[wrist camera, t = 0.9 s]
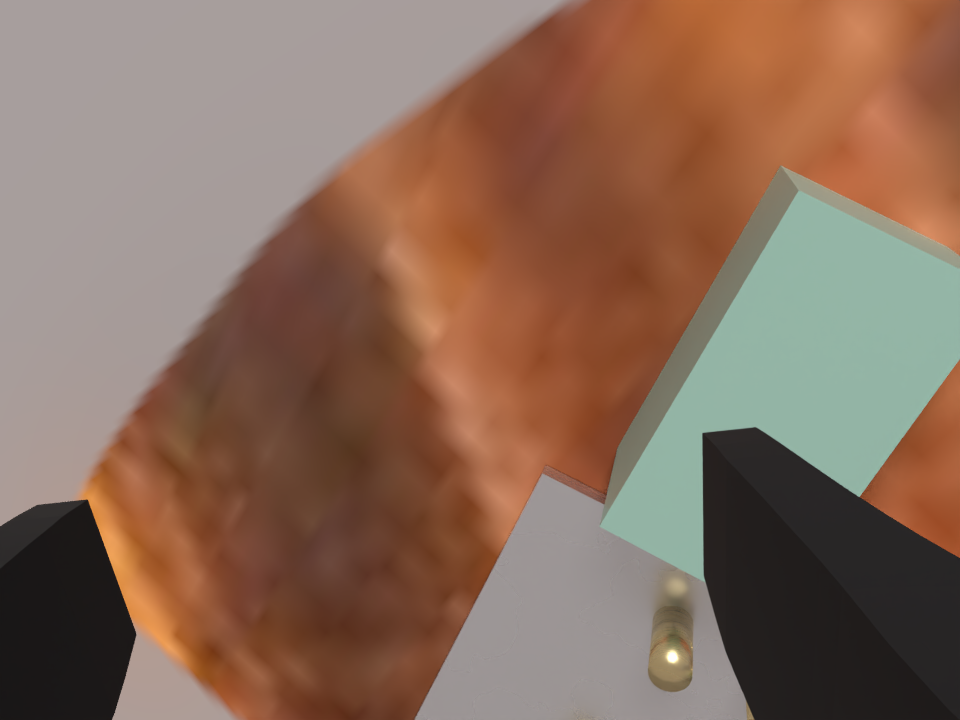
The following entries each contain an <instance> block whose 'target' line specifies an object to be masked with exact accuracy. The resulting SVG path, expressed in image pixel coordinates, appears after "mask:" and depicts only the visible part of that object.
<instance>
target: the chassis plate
mask: <svg viewBox="0 0 960 720" xmlns="http://www.w3.org/2000/svg"><path fill="white" fill-rule="evenodd" d="M605 500H606V495H604V494H602V493H600V492H598V491H596V490H594V489H592V488H590V487H589V486H587V485H585V484H583V483H581V482H579V481H577V480H575V479H573V478H571V477H569V476H567V475H565V474H563V473H561V472H559V471H557V470H555V469H553V468H551V467H549V466H547V465H546V466H545V468H544V470H543V472H542V474H541V476H540V477H539V479H538V481H537V483H536V485H535V487H534V489H533V491H532V493H531V495H530V497H529V499H528V501H527V502H526V504H525V506H524V508H523V510H522V512H521V514H520V516H519V518H518V520H517V522H516V524H515V526H514V528H513V529H512V531H511V533H510V535H509V537H508V539H507V541H506V543H505V545H504V547H503V549H502V551H501V553H500V555H499V556H498V558H497V560H496V562H495V564H494V566H493V568H492V570H491V572H490V574H489V576H488V578H487V580H486V582H485V583H484V585H483V587H482V589H481V591H480V593H479V595H478V597H477V599H476V601H475V603H474V605H473V607H472V608H471V610H470V612H469V614H468V616H467V618H466V620H465V622H464V624H463V626H462V628H461V630H460V632H459V634H458V635H457V637H456V639H455V641H454V643H453V645H452V647H451V649H450V651H449V653H448V655H447V657H446V659H445V661H444V662H443V664H442V666H441V668H440V670H439V672H438V674H437V676H436V678H435V680H434V682H433V684H432V686H431V687H430V689H429V691H428V693H427V695H426V697H425V699H424V701H423V703H422V705H421V707H420V709H419V711H418V713H417V714H416V716H415V718H414V720H747V711H746V699H745V697H744V694H743V692H742V690H741V687H740V685H739V683H738V680H737V678H736V676H735V673H734V671H733V668H732V666H731V664H730V661H729V659H728V656H727V654H726V651H725V648H724V645H723V641H722V638H721V635H720V631H719V628H718V625H717V621H716V618H715V614H714V611H713V607H712V604H711V600H710V597H709V593H708V589H707V586H706V583H705V582H703V581H701V580H700V579H698V578H696V577H694V576H692V575H690V574H688V573H686V572H684V571H683V570H681V569H679V568H677V567H675V566H673V565H671V564H669V563H667V562H665V561H664V560H662V559H660V558H658V557H656V556H654V555H652V554H650V553H648V552H647V551H645V550H643V549H641V548H639V547H637V546H635V545H633V544H631V543H630V542H628V541H626V540H624V539H622V538H620V537H618V536H616V535H614V534H613V533H611V532H609V531H607V530H605V529H603V528H601V527H599V526H600V521H601V517H602V513H603V509H604V504H605ZM665 606H677V607H680V608H683V609H684V610H686V611H687V612H688V613H689V614H690V615H691V617H692V619H693V623H694V628H693V674H692V681H691V683H690V685H689V686H688V687H687V688H685V689H684V690H682V691H678V692H667V691H663V690H661V689H659V688H657V687H656V686H655V685H654V684H653V683H652V682H651V680H650V678H649V676H648V664H649V654H650V643H651V633H652V622H653V617H654V614H655V613H656V612H657V611H658V610H659V609H660V608H662V607H665Z"/></svg>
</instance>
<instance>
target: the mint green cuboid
mask: <svg viewBox="0 0 960 720" xmlns="http://www.w3.org/2000/svg"><path fill="white" fill-rule="evenodd" d="M959 359H960V256H959V255H957V254H956V253H955V252H954V251H952V250H951V249H950V248H948V247H947V246H945V245H943V244H940V243H938V242H936V241H934V240H932V239H930V238H928V237H926V236H924V235H922V234H920V233H918V232H916V231H914V230H912V229H910V228H908V227H906V226H904V225H902V224H899V223H897V222H895V221H893V220H891V219H889V218H887V217H885V216H883V215H881V214H879V213H877V212H875V211H873V210H871V209H869V208H867V207H865V206H863V205H861V204H859V203H856V202H854V201H852V200H850V199H848V198H846V197H844V196H842V195H840V194H838V193H836V192H834V191H832V190H830V189H828V188H826V187H824V186H822V185H820V184H818V183H815V182H813V181H811V180H809V179H807V178H805V177H803V176H801V175H799V174H797V173H795V172H793V171H791V170H789V169H787V168H785V167H783V166H780V167H779V169H778V171H777V173H776V174H775V176H774V178H773V180H772V181H771V183H770V185H769V186H768V188H767V190H766V192H765V193H764V195H763V197H762V199H761V200H760V202H759V204H758V206H757V207H756V209H755V211H754V212H753V214H752V216H751V218H750V219H749V221H748V223H747V225H746V226H745V228H744V230H743V231H742V233H741V235H740V237H739V238H738V240H737V242H736V244H735V245H734V247H733V249H732V251H731V252H730V254H729V256H728V257H727V259H726V261H725V263H724V264H723V266H722V268H721V270H720V271H719V273H718V275H717V276H716V278H715V280H714V282H713V283H712V285H711V287H710V289H709V290H708V292H707V294H706V295H705V297H704V299H703V301H702V302H701V304H700V306H699V308H698V309H697V311H696V313H695V315H694V316H693V318H692V320H691V321H690V323H689V325H688V327H687V328H686V330H685V332H684V334H683V335H682V337H681V339H680V340H679V342H678V344H677V346H676V347H675V349H674V351H673V353H672V354H671V356H670V358H669V359H668V361H667V363H666V365H665V366H664V368H663V370H662V372H661V373H660V375H659V377H658V379H657V380H656V382H655V384H654V385H653V387H652V389H651V391H650V392H649V394H648V396H647V398H646V399H645V401H644V403H643V404H642V406H641V408H640V410H639V411H638V413H637V415H636V417H635V418H634V420H633V422H632V424H631V425H630V427H629V429H628V430H627V432H626V434H625V436H624V437H623V439H622V441H621V443H620V444H619V446H618V448H617V453H616V457H615V461H614V466H613V470H612V474H611V478H610V483H609V487H608V491H607V496H606V500H605V504H604V509H603V513H602V517H601V521H600V526H599V527H601V528H603V529H605V530H607V531H609V532H611V533H613V534H614V535H616V536H618V537H620V538H622V539H624V540H626V541H628V542H630V543H631V544H633V545H635V546H637V547H639V548H641V549H643V550H645V551H647V552H648V553H650V554H652V555H654V556H656V557H658V558H660V559H662V560H664V561H665V562H667V563H669V564H671V565H673V566H675V567H677V568H679V569H681V570H683V571H684V572H686V573H688V574H690V575H692V576H694V577H696V578H698V579H700V580H701V581H703V582H705V579H704V569H703V456H702V433H706V432H715V431H724V430H733V429H742V428H752V427H756V428H758V429H760V430H761V431H763V432H765V433H766V434H768V435H769V436H771V437H772V438H774V439H775V440H777V441H778V442H780V443H781V444H782V445H784V446H785V447H787V448H788V449H790V450H791V451H793V452H794V453H795V454H797V455H798V456H800V457H801V458H803V459H804V460H805V461H807V462H808V463H810V464H811V465H813V466H814V467H816V468H817V469H819V470H820V471H821V472H823V473H824V474H826V475H827V476H829V477H830V478H832V479H833V480H835V481H836V482H837V483H839V484H840V485H842V486H843V487H845V488H846V489H848V490H849V491H851V492H852V493H854V494H855V495H857V496H858V497H860V495H861V494H862V493H863V491H864V490H865V489H866V487H867V486H868V484H869V483H870V482H871V480H872V479H873V478H874V476H875V475H876V473H877V472H878V471H879V469H880V468H881V467H882V465H883V464H884V462H885V461H886V460H887V458H888V457H889V456H890V454H891V453H892V451H893V450H894V449H895V447H896V446H897V445H898V443H899V442H900V440H901V439H902V438H903V436H904V435H905V434H906V432H907V431H908V429H909V428H910V427H911V425H912V424H913V423H914V421H915V420H916V418H917V417H918V416H919V414H920V413H921V412H922V410H923V409H924V407H925V406H926V405H927V403H928V402H929V400H930V399H931V398H932V396H933V395H934V394H935V392H936V391H937V389H938V388H939V387H940V385H941V384H942V383H943V381H944V380H945V378H946V377H947V376H948V374H949V373H950V372H951V370H952V369H953V367H954V366H955V365H956V363H957V362H958V361H959ZM705 583H706V582H705Z"/></svg>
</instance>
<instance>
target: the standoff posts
mask: <svg viewBox="0 0 960 720" xmlns="http://www.w3.org/2000/svg"><path fill="white" fill-rule="evenodd" d="M693 628H694V623H693V619H692V617H691V615H690V614H689V613H688V612H687V611H686V610H684V609H683V608H680V607H677V606H665V607H662V608H660V609H659V610H658V611H657V612H656V613H655V614H654V617H653V622H652V633H651V643H650V654H649V664H648V676H649V678H650V680H651V682H652V683H653V684H654V685H655V686H656V687H657V688H659V689H661V690H663V691H667V692H678V691H682V690H684V689H685V688H687V687H688V686H689V685H690V683H691V681H692V674H693ZM746 711H747V720H754V718H753V715H752V713H751V711H750V708H749V706H748V704H747V701H746Z"/></svg>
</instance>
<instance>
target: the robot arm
mask: <svg viewBox="0 0 960 720" xmlns="http://www.w3.org/2000/svg"><path fill="white" fill-rule="evenodd" d="M702 456H703V569H704V579H705V582H706V586H707V589H708V593H709V597H710V600H711V604H712V607H713V611H714V614H715V618H716V621H717V625H718V628H719V631H720V635H721V638H722V641H723V645H724V648H725V651H726V654H727V656H728V659H729V661H730V664H731V666H732V668H733V671H734V673H735V676H736V678H737V680H738V683H739V685H740V687H741V690H742V692H743V694H744V697H745V699H746V701H747V704H748V706H749V708H750V711H751V713H752V715H753V718H754V720H960V558H959V557H957V556H955V555H953V554H952V553H950V552H948V551H946V550H945V549H943V548H941V547H939V546H938V545H936V544H934V543H932V542H931V541H929V540H927V539H925V538H924V537H922V536H920V535H919V534H917V533H915V532H914V531H912V530H910V529H909V528H907V527H906V526H904V525H902V524H901V523H899V522H897V521H896V520H894V519H893V518H891V517H889V516H888V515H886V514H885V513H883V512H882V511H880V510H878V509H877V508H875V507H874V506H872V505H871V504H869V503H868V502H866V501H865V500H863V499H861V498H860V497H858V496H857V495H855V494H854V493H852V492H851V491H849V490H848V489H846V488H845V487H843V486H842V485H840V484H839V483H837V482H836V481H835V480H833V479H832V478H830V477H829V476H827V475H826V474H824V473H823V472H821V471H820V470H819V469H817V468H816V467H814V466H813V465H811V464H810V463H808V462H807V461H805V460H804V459H803V458H801V457H800V456H798V455H797V454H795V453H794V452H793V451H791V450H790V449H788V448H787V447H785V446H784V445H782V444H781V443H780V442H778V441H777V440H775V439H774V438H772V437H771V436H769V435H768V434H766V433H765V432H763V431H761V430H760V429H758V428H756V427H752V428H742V429H733V430H724V431H715V432H706V433H702ZM135 638H136V631H135V629H134V626H133V623H132V620H131V618H130V615H129V612H128V609H127V607H126V604H125V601H124V598H123V596H122V593H121V590H120V587H119V585H118V582H117V579H116V576H115V574H114V571H113V568H112V565H111V563H110V560H109V557H108V554H107V552H106V549H105V546H104V543H103V541H102V538H101V535H100V532H99V530H98V527H97V524H96V521H95V519H94V516H93V513H92V510H91V508H90V505H89V502H88V500H79V501H70V502H61V503H52V504H43V505H36V506H35V507H33V508H31V509H29V510H27V511H25V512H23V513H22V514H20V515H18V516H16V517H15V518H13V519H11V520H10V521H8V522H7V523H5V524H3V525H2V526H0V720H112V718H113V715H114V713H115V710H116V706H117V703H118V700H119V696H120V693H121V690H122V686H123V683H124V680H125V676H126V672H127V668H128V665H129V661H130V657H131V653H132V649H133V645H134V641H135Z"/></svg>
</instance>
